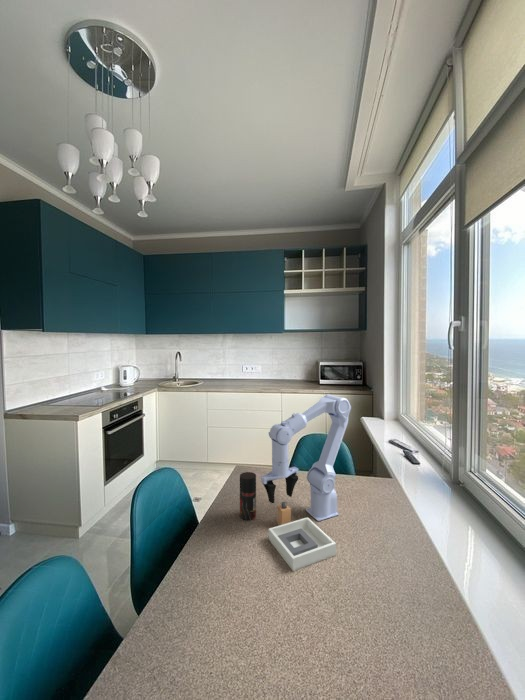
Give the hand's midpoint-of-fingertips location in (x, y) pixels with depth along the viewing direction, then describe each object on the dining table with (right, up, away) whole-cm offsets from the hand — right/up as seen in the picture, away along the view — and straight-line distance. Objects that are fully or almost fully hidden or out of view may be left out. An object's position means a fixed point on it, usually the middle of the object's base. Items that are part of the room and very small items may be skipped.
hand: (280, 498), depth 104 cm
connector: (+1, -9, +1) cm, 9 cm away
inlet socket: (+4, -10, -12) cm, 16 cm away
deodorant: (-12, -9, +6) cm, 16 cm away
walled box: (+6, -10, -11) cm, 16 cm away
